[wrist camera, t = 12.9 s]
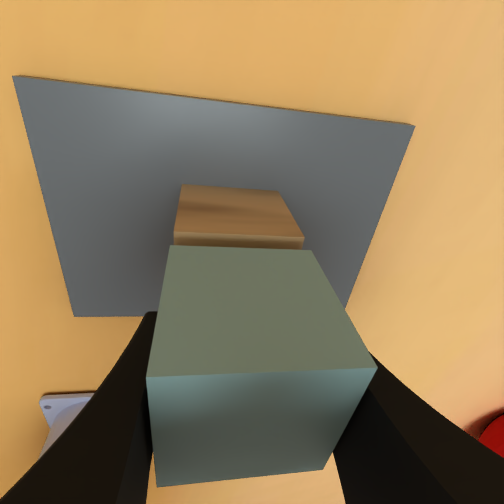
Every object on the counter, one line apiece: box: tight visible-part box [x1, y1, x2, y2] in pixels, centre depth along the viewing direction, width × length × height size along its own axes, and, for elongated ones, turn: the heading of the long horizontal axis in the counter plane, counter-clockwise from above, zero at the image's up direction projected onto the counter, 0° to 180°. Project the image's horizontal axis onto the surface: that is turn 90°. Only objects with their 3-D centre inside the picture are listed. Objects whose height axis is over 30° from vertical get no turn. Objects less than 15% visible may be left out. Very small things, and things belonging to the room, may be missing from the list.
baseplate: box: [12, 75, 415, 317], centre depth 17 cm, size 13×18×1 cm
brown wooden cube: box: [174, 184, 305, 250], centre depth 15 cm, size 5×5×5 cm
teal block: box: [146, 245, 378, 487], centre depth 10 cm, size 5×5×5 cm
